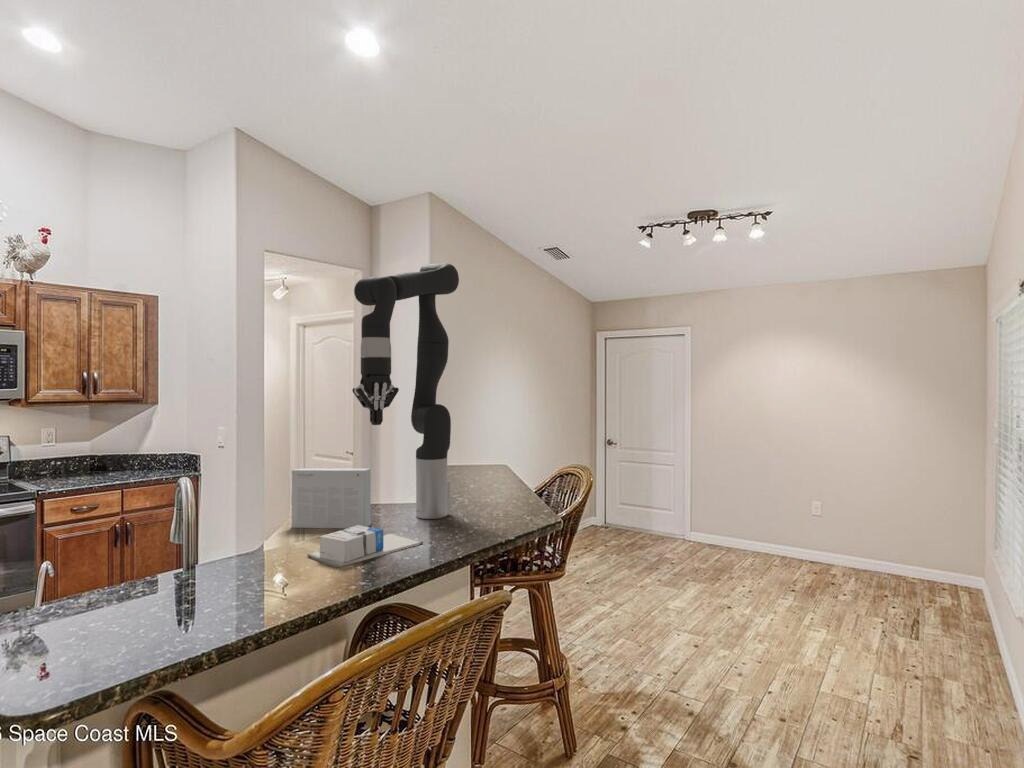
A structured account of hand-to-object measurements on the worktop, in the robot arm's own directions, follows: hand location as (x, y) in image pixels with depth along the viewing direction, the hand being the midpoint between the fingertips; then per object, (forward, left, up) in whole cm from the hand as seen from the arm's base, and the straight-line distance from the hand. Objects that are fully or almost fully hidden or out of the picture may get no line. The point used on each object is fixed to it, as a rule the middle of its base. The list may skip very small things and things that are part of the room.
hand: (376, 424), depth 146 cm
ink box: (+6, +6, -26) cm, 28 cm away
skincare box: (0, -21, -29) cm, 36 cm away
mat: (+7, +6, -29) cm, 30 cm away
